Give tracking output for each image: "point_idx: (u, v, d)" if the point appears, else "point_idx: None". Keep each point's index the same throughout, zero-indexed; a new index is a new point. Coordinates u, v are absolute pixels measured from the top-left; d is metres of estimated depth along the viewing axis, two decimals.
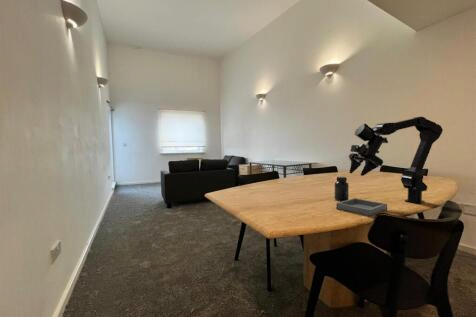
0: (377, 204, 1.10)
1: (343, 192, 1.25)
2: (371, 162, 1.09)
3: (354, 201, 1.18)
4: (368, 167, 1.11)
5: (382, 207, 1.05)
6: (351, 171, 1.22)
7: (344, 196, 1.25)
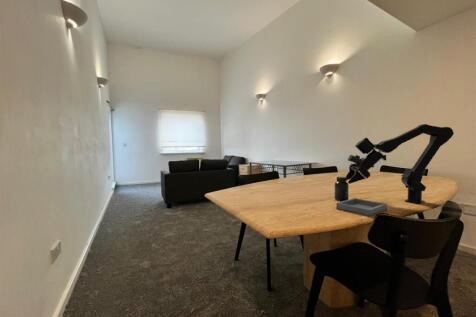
0: (377, 204, 1.10)
1: (343, 192, 1.25)
2: (358, 172, 1.18)
3: (354, 201, 1.18)
4: (356, 177, 1.21)
5: (382, 207, 1.05)
6: None
7: (344, 196, 1.25)
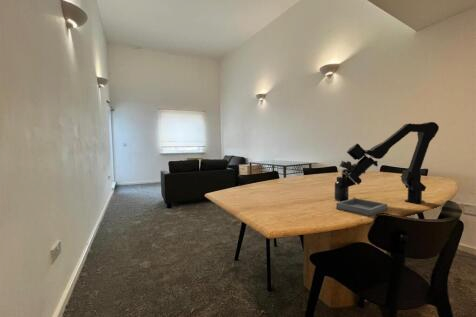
0: (377, 204, 1.10)
1: (343, 192, 1.25)
2: (349, 178, 1.21)
3: (354, 201, 1.18)
4: (347, 182, 1.23)
5: (382, 207, 1.05)
6: None
7: (344, 196, 1.25)
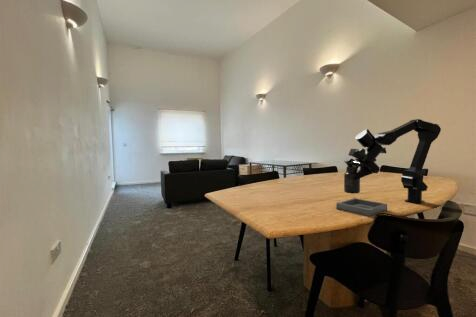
0: (377, 204, 1.10)
1: (357, 183, 1.12)
2: (366, 167, 1.08)
3: (354, 201, 1.18)
4: (362, 172, 1.11)
5: (382, 207, 1.05)
6: None
7: (358, 188, 1.12)
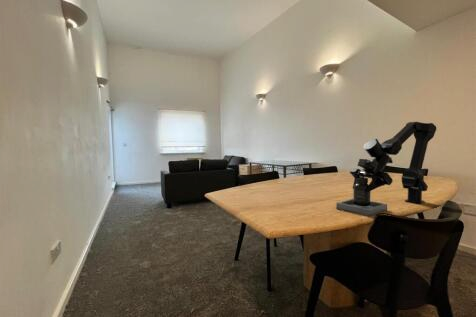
0: (377, 204, 1.10)
1: (369, 196, 1.07)
2: (379, 179, 1.03)
3: None
4: (374, 184, 1.05)
5: (382, 207, 1.05)
6: None
7: (369, 200, 1.07)
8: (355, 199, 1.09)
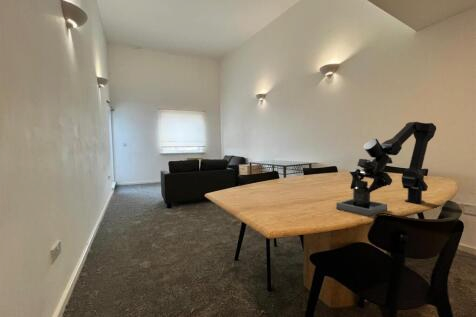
0: (377, 204, 1.10)
1: (368, 199, 1.07)
2: (381, 179, 1.02)
3: None
4: (376, 184, 1.04)
5: (382, 207, 1.05)
6: (352, 187, 1.13)
7: (368, 204, 1.07)
8: (355, 202, 1.09)
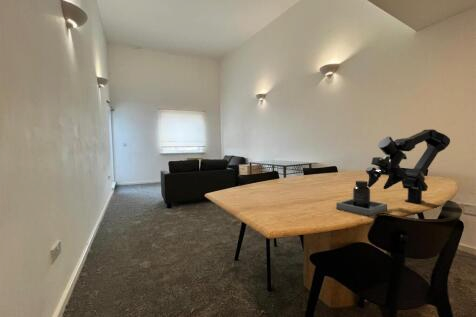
0: (377, 204, 1.10)
1: (368, 199, 1.07)
2: (396, 175, 1.05)
3: None
4: (391, 180, 1.08)
5: (382, 207, 1.05)
6: (369, 185, 1.17)
7: (368, 204, 1.07)
8: (355, 202, 1.09)
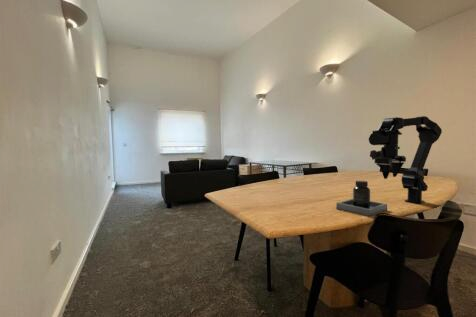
0: (377, 204, 1.10)
1: (368, 199, 1.07)
2: (379, 164, 1.12)
3: None
4: (384, 169, 1.12)
5: (382, 207, 1.05)
6: (394, 174, 1.18)
7: (368, 204, 1.07)
8: (355, 202, 1.09)
